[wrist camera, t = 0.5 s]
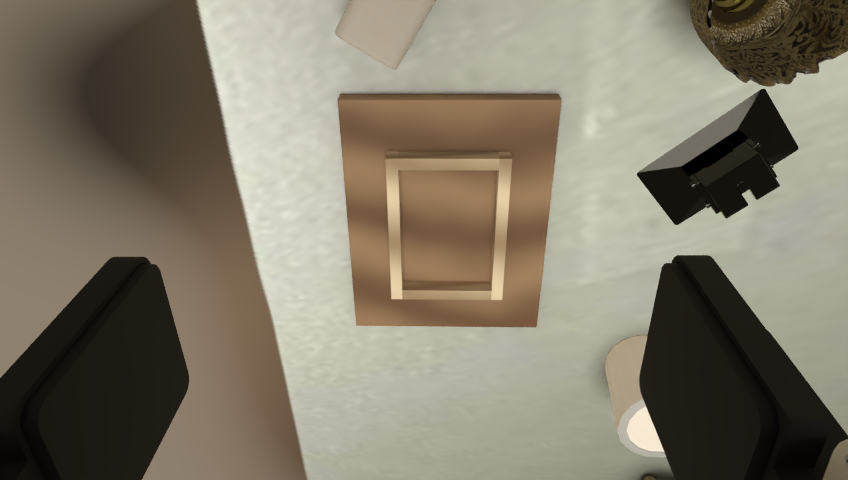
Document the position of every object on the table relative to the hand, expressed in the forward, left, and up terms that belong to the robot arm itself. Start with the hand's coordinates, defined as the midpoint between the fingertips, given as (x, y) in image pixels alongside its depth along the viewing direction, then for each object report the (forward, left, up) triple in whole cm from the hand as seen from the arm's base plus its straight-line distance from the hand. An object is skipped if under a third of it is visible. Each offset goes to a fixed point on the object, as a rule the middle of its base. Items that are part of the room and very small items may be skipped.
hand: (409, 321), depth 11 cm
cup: (-2, +17, -29) cm, 34 cm away
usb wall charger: (-2, -2, -30) cm, 30 cm away
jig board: (+14, +1, -29) cm, 32 cm away
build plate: (+9, +19, -30) cm, 37 cm away
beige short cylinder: (+27, +17, -30) cm, 44 cm away
